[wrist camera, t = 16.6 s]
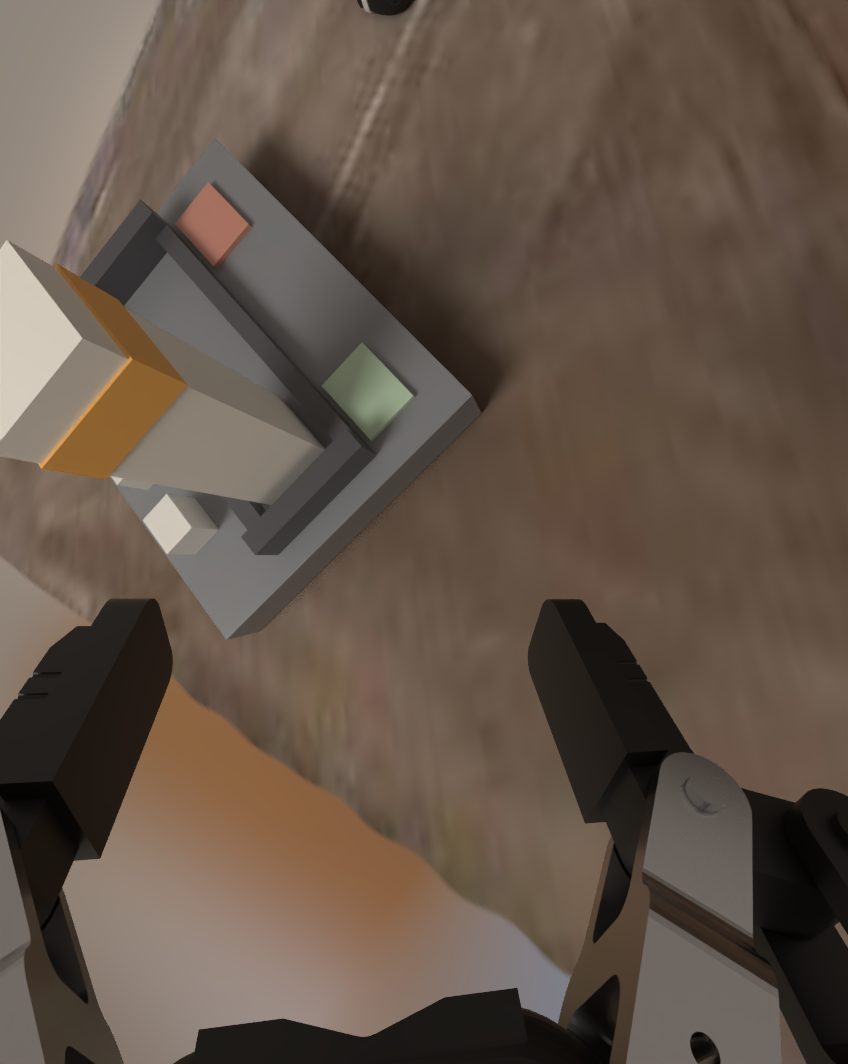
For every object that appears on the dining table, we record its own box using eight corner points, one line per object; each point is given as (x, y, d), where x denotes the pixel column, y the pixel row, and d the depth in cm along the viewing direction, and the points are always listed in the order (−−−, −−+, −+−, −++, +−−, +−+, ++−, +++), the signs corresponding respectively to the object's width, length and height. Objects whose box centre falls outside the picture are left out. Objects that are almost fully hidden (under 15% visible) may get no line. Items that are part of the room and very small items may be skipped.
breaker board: (77, 385, 33) (-4, 356, 28) (247, 177, 30) (189, 106, 25) (259, 631, 28) (199, 646, 24) (481, 413, 25) (464, 380, 21)
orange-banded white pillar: (229, 452, 26) (-80, 353, 13) (281, 395, 25) (7, 234, 12) (274, 508, 25) (-11, 460, 12) (330, 451, 24) (86, 337, 12)
